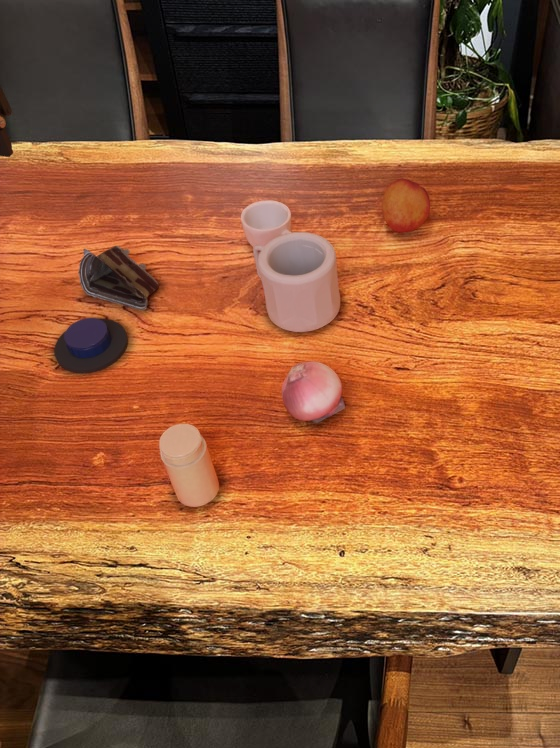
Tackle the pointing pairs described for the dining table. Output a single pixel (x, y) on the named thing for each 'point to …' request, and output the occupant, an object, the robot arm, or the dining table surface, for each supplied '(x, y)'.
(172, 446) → the jar
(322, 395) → the onion
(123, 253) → the chocolate cake
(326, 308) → the mug
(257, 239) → the teacup
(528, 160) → the dining table surface
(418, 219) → the fruit
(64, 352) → the trivet
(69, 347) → the jar lid
